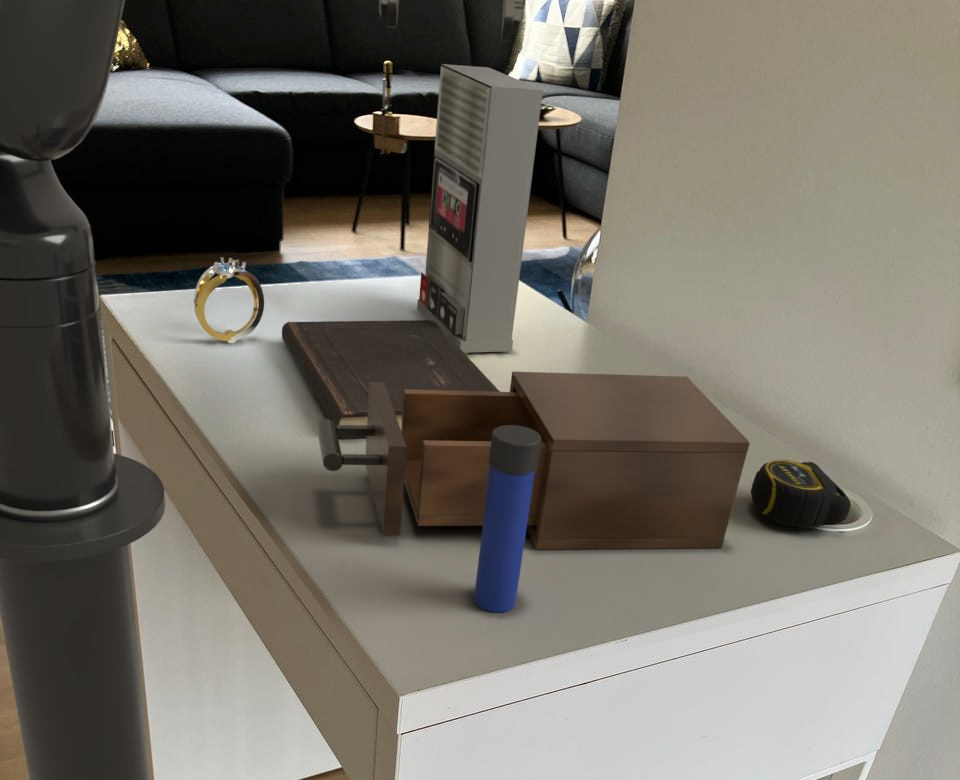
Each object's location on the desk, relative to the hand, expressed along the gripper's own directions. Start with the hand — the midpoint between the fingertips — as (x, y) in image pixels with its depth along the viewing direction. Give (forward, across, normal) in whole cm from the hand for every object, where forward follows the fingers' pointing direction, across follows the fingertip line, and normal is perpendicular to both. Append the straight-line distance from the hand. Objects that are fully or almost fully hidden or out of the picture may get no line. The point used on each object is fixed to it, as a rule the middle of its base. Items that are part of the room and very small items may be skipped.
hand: (450, 26), depth 78 cm
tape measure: (+31, +31, +12) cm, 46 cm away
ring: (+11, -19, +32) cm, 39 cm away
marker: (+43, +6, 0) cm, 43 cm away
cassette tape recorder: (+5, +4, +39) cm, 40 cm away
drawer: (+34, +2, +8) cm, 35 cm away
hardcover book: (+17, -3, +27) cm, 32 cm away
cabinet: (+32, +15, +11) cm, 37 cm away
